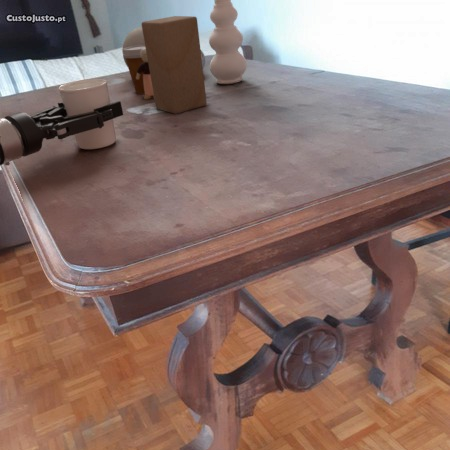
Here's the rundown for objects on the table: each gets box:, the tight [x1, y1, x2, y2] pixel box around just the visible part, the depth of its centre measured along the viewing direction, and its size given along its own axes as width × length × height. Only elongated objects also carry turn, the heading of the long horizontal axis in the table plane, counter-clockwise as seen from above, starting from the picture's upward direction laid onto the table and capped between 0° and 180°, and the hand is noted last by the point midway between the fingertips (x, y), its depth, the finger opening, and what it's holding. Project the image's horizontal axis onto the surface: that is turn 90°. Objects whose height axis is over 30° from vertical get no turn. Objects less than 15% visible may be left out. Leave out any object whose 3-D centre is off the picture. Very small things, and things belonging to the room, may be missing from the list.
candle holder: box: [58, 78, 117, 150], centre depth 100 cm, size 10×10×12 cm
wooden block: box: [141, 15, 207, 115], centre depth 118 cm, size 10×10×20 cm
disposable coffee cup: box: [122, 45, 146, 95], centre depth 140 cm, size 10×10×12 cm
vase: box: [208, 0, 248, 85], centre depth 135 cm, size 11×11×25 cm
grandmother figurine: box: [136, 48, 155, 100], centre depth 133 cm, size 8×4×13 cm, turn 112°
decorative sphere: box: [122, 26, 145, 68], centre depth 157 cm, size 15×15×15 cm
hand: (106, 106), depth 102 cm, fingers closed on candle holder, 9 cm apart
